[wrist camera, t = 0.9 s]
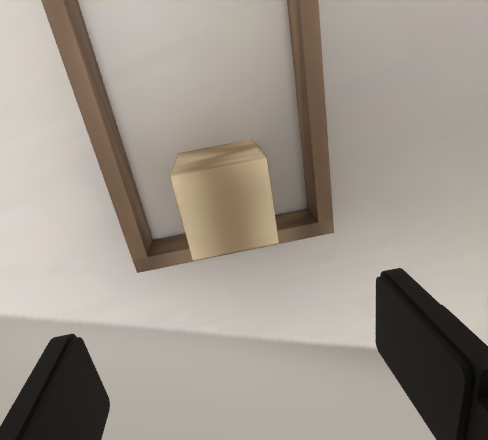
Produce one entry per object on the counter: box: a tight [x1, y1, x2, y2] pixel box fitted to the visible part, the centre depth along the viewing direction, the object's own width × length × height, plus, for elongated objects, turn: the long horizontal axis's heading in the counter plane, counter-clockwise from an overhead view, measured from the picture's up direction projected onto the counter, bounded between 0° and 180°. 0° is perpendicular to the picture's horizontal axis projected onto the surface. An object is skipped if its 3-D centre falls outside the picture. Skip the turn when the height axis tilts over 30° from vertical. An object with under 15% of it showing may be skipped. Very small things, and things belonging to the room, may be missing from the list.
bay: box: [41, 0, 334, 273], centre depth 25 cm, size 16×21×3 cm
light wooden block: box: [171, 139, 279, 261], centre depth 25 cm, size 6×6×7 cm
